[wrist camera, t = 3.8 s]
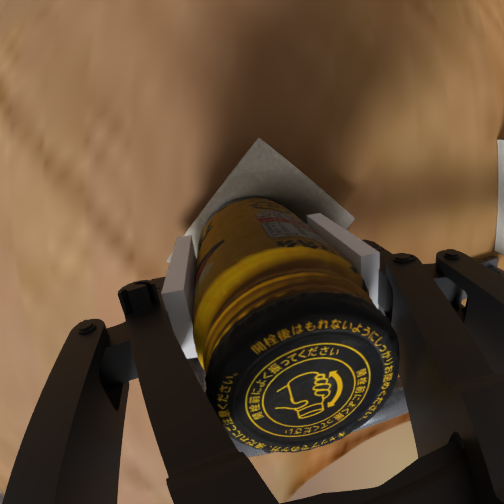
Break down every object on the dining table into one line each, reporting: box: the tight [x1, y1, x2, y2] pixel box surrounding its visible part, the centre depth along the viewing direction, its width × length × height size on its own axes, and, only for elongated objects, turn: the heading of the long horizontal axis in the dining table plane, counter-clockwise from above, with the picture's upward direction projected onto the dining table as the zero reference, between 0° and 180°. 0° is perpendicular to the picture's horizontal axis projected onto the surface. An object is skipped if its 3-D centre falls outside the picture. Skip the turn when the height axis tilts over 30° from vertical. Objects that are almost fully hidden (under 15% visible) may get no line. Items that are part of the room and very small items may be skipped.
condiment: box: [167, 138, 400, 453], centre depth 13 cm, size 7×8×12 cm
